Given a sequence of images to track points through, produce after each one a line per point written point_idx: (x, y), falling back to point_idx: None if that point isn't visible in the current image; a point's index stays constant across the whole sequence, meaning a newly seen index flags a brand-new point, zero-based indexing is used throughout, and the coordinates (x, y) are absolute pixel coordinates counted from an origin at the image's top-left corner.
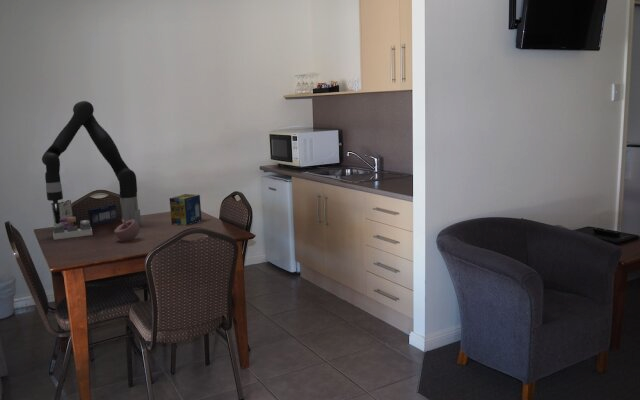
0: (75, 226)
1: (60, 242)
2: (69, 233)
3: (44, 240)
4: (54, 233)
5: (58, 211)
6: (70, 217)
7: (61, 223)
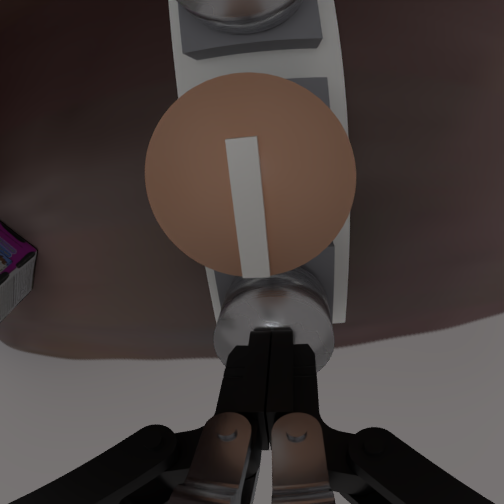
0: None
1: (475, 237)
2: None
3: None
4: None
5: (470, 495)
6: (261, 193)
7: (315, 307)
